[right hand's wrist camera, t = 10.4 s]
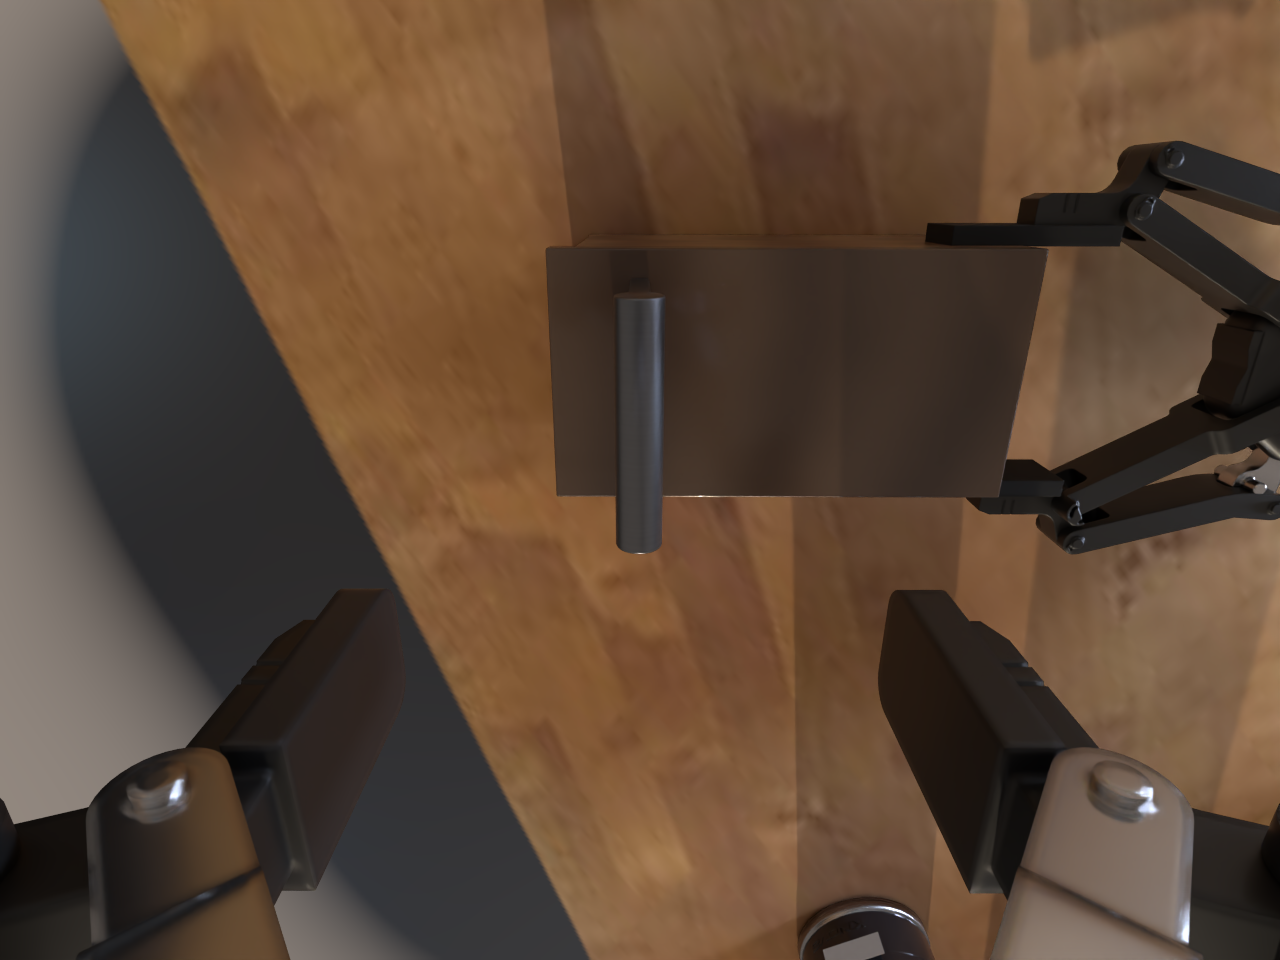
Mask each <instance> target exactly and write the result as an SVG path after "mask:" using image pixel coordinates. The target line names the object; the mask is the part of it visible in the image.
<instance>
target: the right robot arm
mask: <svg viewBox="0 0 1280 960" xmlns="http://www.w3.org/2000/svg"><path fill="white" fill-rule="evenodd" d="M878 687H879V695H880V700H881V704H882V708H883V710H884V713H885V715H886V717H887V719H888V721H889V723H890V726H891V728H892V730H893V732H894V734H895V736H896V738H897V740H898V743H899V745H900V747H901V749H902V751H903V753H904V755H905V757H906V759H907V762H908V764H909V766H910V768H911V770H912V772H913V774H914V776H915V778H916V781H917V783H918V785H919V787H920V789H921V791H922V793H923V795H924V797H925V800H926V802H927V804H928V806H929V808H930V810H931V812H932V814H933V816H934V819H935V821H936V823H937V825H938V827H939V829H940V831H941V833H942V835H943V838H944V840H945V842H946V844H947V846H948V848H949V850H950V852H951V854H952V857H953V859H954V861H955V863H956V865H957V867H958V869H959V871H960V873H961V876H962V878H963V880H964V882H965V884H966V886H967V888H968V890H969V892H970V893H1004V895H1005V897H1006V899H1007V901H1008V902H1007V905H1006V908H1005V911H1004V915H1003V918H1002V921H1001V924H1000V928H999V931H998V934H997V938H996V941H995V944H994V947H993V951H992V954H991V957H990V960H1280V804H1279V805H1278V807H1277V810H1276V812H1275V814H1274V817H1273V819H1272V821H1271V824H1270V826H1266V825H1261V824H1257V823H1253V822H1248V821H1244V820H1240V819H1235V818H1231V817H1227V816H1222V815H1218V814H1214V813H1209V812H1205V811H1201V810H1197V809H1193V808H1191V806H1190V804H1189V802H1188V801H1187V799H1186V798H1185V796H1184V795H1183V794H1182V793H1181V792H1180V790H1179V789H1178V788H1177V787H1176V786H1175V785H1173V784H1172V783H1171V782H1170V781H1169V780H1168V779H1166V778H1165V777H1164V776H1162V775H1161V774H1160V773H1158V772H1157V771H1155V770H1153V769H1152V768H1150V767H1149V766H1147V765H1145V764H1143V763H1141V762H1139V761H1137V760H1135V759H1132V758H1130V757H1127V756H1125V755H1122V754H1119V753H1116V752H1112V751H1108V750H1104V749H1099V747H1098V746H1097V745H1096V744H1095V743H1094V741H1093V740H1092V739H1091V738H1090V737H1089V735H1088V734H1087V733H1086V732H1085V731H1084V729H1083V728H1082V727H1081V726H1080V725H1079V723H1078V722H1077V721H1076V720H1075V719H1074V717H1073V716H1072V715H1071V714H1070V713H1069V711H1068V710H1067V709H1066V708H1065V707H1064V705H1063V704H1062V703H1061V702H1060V701H1059V699H1058V698H1057V697H1056V696H1055V695H1054V693H1053V692H1052V691H1051V690H1050V689H1049V687H1048V686H1044V681H1043V680H1042V679H1041V678H1040V677H1039V675H1038V674H1037V673H1036V672H1035V671H1034V669H1033V668H1032V667H1028V662H1027V661H1026V660H1025V659H1024V657H1023V656H1022V655H1021V654H1020V653H1019V651H1018V650H1017V649H1016V648H1015V647H1014V645H1013V644H1012V643H1011V642H1010V641H1009V640H1008V639H1006V638H1005V637H1003V636H1002V635H1000V634H999V633H997V632H996V631H994V630H993V629H991V628H990V627H988V626H987V625H985V624H984V623H982V622H981V621H969V620H968V619H967V618H966V617H965V615H964V614H963V613H962V611H961V610H960V609H959V607H958V606H957V605H956V604H955V602H954V601H953V600H952V598H951V597H950V596H949V595H948V594H947V592H945V591H943V590H895V591H894V592H893V593H892V595H891V597H890V600H889V604H888V610H887V617H886V624H885V631H884V637H883V644H882V651H881V658H880V664H879V672H878ZM404 691H405V666H404V659H403V652H402V645H401V639H400V632H399V625H398V618H397V611H396V605H395V600H394V596H393V594H392V592H391V591H390V590H389V589H340V590H339V591H337V592H336V594H335V595H334V596H333V597H332V599H331V600H330V601H329V603H328V604H327V605H326V607H325V608H324V609H323V611H322V612H321V613H320V614H319V616H318V617H317V618H316V620H303V621H302V622H300V623H299V624H297V625H296V626H294V627H293V628H291V629H289V630H288V631H286V632H285V633H283V634H282V635H280V636H279V637H277V638H276V639H275V640H274V641H273V642H272V643H271V645H270V646H269V647H268V648H267V649H266V651H265V652H264V653H263V654H262V655H261V657H260V658H259V659H258V660H257V665H256V666H252V668H251V669H250V670H249V671H248V672H247V674H246V675H245V676H244V677H243V678H242V682H241V685H237V686H236V687H235V688H234V689H233V691H232V692H231V693H230V694H229V695H228V697H227V698H226V699H225V700H224V702H223V703H222V704H221V705H220V706H219V708H218V709H217V710H216V711H215V712H214V714H213V715H212V716H211V717H210V719H209V720H208V721H207V722H206V723H205V725H204V726H203V727H202V728H201V729H200V731H199V732H198V733H197V734H196V736H195V737H194V738H193V739H192V740H191V742H190V743H189V744H188V745H187V746H186V748H182V749H176V750H172V751H168V752H164V753H161V754H158V755H155V756H153V757H150V758H148V759H145V760H143V761H141V762H139V763H137V764H135V765H133V766H131V767H130V768H128V769H127V770H125V771H123V772H122V773H120V774H119V775H118V776H116V777H115V778H114V779H112V780H111V781H110V782H109V783H108V784H107V785H105V786H104V787H103V788H102V789H101V790H100V792H99V793H98V794H97V795H96V796H95V798H94V799H93V801H92V802H91V804H90V806H89V807H87V808H84V809H79V810H75V811H70V812H66V813H62V814H57V815H53V816H49V817H44V818H40V819H35V820H31V821H27V822H22V823H18V824H13V822H12V819H11V817H10V815H9V813H8V810H7V808H6V806H5V803H4V801H3V800H2V799H1V798H0V960H290V957H289V954H288V951H287V947H286V944H285V941H284V938H283V934H282V931H281V928H280V924H279V921H278V918H277V915H276V911H275V908H274V905H275V903H276V901H277V899H278V897H279V895H280V893H281V891H315V890H316V888H317V886H318V884H319V882H320V880H321V877H322V875H323V873H324V871H325V869H326V867H327V865H328V863H329V860H330V858H331V856H332V854H333V852H334V850H335V847H336V845H337V843H338V841H339V839H340V837H341V835H342V832H343V830H344V828H345V826H346V824H347V822H348V820H349V818H350V815H351V813H352V811H353V809H354V807H355V805H356V803H357V801H358V798H359V796H360V794H361V792H362V790H363V788H364V786H365V783H366V781H367V779H368V777H369V775H370V773H371V771H372V768H373V766H374V764H375V762H376V760H377V758H378V756H379V753H380V751H381V749H382V747H383V745H384V743H385V741H386V738H387V736H388V734H389V732H390V730H391V728H392V726H393V724H394V721H395V719H396V717H397V715H398V713H399V711H400V708H401V705H402V701H403V697H404ZM798 953H799V957H800V960H935V958H934V956H933V953H932V950H931V948H930V942H929V939H928V936H927V934H926V931H925V928H924V926H923V924H922V922H921V920H920V918H919V917H918V916H917V915H916V914H915V913H914V912H913V911H912V910H911V909H909V908H908V907H906V906H904V905H902V904H900V903H898V902H895V901H892V900H888V899H883V898H872V897H865V898H855V899H849V900H845V901H842V902H838V903H836V904H833V905H831V906H829V907H827V908H825V909H823V910H821V911H820V912H818V913H817V914H816V915H815V916H813V917H812V918H811V919H810V920H809V921H808V922H807V924H806V925H805V926H804V928H803V929H802V931H801V933H800V936H799V940H798Z"/></svg>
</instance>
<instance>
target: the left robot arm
mask: <svg viewBox="0 0 1280 960" xmlns="http://www.w3.org/2000/svg"><path fill="white" fill-rule="evenodd" d="M1117 167H1118V171H1119V172H1118V173H1117V175H1116V177H1115V179H1114V180H1113V182H1112V183H1111V184H1110V185H1109V186H1108V187H1107V188H1106V189H1104V190H1103V191H1100V192H1098V193H1034V194H1031V195H1029V196H1026V197H1024V198H1021V202H1020V208H1019V213H1018V218H1017V223H928V225H927V232H926V239H925V242H932V243H938V244H944V245H950V246H1120V243H1121V241H1122V242H1124V243H1125V244H1127V245H1128V246H1129V247H1131V248H1132V249H1134V250H1135V251H1137V252H1138V253H1140V254H1141V255H1143V256H1144V257H1145V258H1147V259H1148V260H1150V261H1151V262H1153V263H1154V264H1156V265H1157V266H1159V267H1160V268H1162V269H1163V270H1164V271H1166V272H1167V273H1169V274H1170V275H1172V276H1173V277H1175V278H1176V279H1178V280H1179V281H1180V282H1182V283H1183V284H1185V285H1186V286H1188V287H1189V288H1191V289H1192V290H1194V291H1195V292H1196V293H1198V294H1199V295H1201V296H1202V298H1201V299H1202V301H1204V302H1205V303H1206V304H1208V305H1209V306H1211V307H1212V308H1214V309H1215V310H1216V311H1218V312H1219V313H1221V314H1222V315H1224V316H1225V317H1227V318H1228V319H1227V320H1226V321H1225V323H1218V324H1217V327H1216V330H1215V334H1214V337H1213V340H1212V359H1211V361H1210V363H1209V365H1208V366H1207V368H1206V370H1205V372H1204V373H1203V375H1202V378H1201V381H1200V384H1199V388H1198V391H1197V393H1199V395H1197V396H1195V397H1193V398H1190V399H1188V400H1186V401H1184V402H1182V403H1180V404H1178V405H1176V406H1174V407H1172V408H1171V409H1170V410H1169V415H1168V416H1166V417H1164V418H1162V419H1160V420H1158V421H1155V422H1153V423H1151V424H1149V425H1147V426H1145V427H1143V428H1140V429H1138V430H1136V431H1134V432H1132V433H1130V434H1128V435H1126V436H1123V437H1121V438H1119V439H1117V440H1115V441H1113V442H1111V443H1108V444H1106V445H1104V446H1102V447H1100V448H1098V449H1096V450H1093V451H1091V452H1089V453H1087V454H1085V455H1083V456H1081V457H1079V458H1076V459H1074V460H1072V461H1070V462H1068V463H1066V464H1064V465H1061V466H1059V467H1057V468H1055V469H1053V470H1051V471H1049V470H1047V469H1046V468H1044V467H1043V466H1041V465H1040V464H1038V463H1037V462H1035V461H1034V460H1006V463H1005V468H1004V473H1003V478H1002V482H1001V487H1000V492H999V497H966V499H967V500H968V501H969V502H970V503H972V504H973V505H974V506H975V507H976V508H977V509H978V510H979V511H982V512H985V513H987V514H1039V515H1038V517H1037V519H1036V526H1037V528H1038V529H1039V530H1040V531H1042V532H1043V533H1044V534H1045V535H1046V536H1047V537H1049V538H1050V539H1051V540H1052V541H1053V542H1055V543H1056V544H1057V545H1058V546H1059V547H1061V548H1062V549H1063V550H1064V551H1066V552H1067V553H1069V554H1079V553H1084V552H1088V551H1092V550H1096V549H1101V548H1105V547H1109V546H1114V545H1118V544H1122V543H1126V542H1131V541H1135V540H1139V539H1144V538H1148V537H1152V536H1156V535H1161V534H1165V533H1169V532H1174V531H1178V530H1182V529H1187V528H1191V527H1195V526H1199V525H1204V524H1208V523H1212V522H1217V521H1221V520H1225V519H1229V518H1248V519H1262V520H1276V519H1278V518H1280V494H1279V493H1276V490H1277V488H1278V486H1279V484H1280V281H1278V280H1275V279H1273V278H1271V277H1269V276H1267V275H1266V274H1264V273H1263V272H1262V271H1260V270H1259V269H1257V268H1256V267H1255V266H1253V265H1252V264H1250V263H1249V262H1248V261H1246V260H1245V259H1243V258H1242V257H1240V256H1239V255H1238V254H1236V253H1235V252H1233V251H1232V250H1231V249H1229V248H1228V247H1226V246H1225V245H1224V244H1222V243H1221V242H1219V241H1218V240H1217V239H1215V238H1214V237H1212V236H1211V235H1209V234H1208V233H1207V232H1205V231H1204V230H1202V229H1201V228H1200V227H1198V226H1197V225H1195V224H1194V223H1193V222H1191V221H1190V220H1188V219H1187V218H1186V217H1184V216H1183V215H1181V214H1180V213H1179V212H1177V211H1176V210H1174V209H1173V208H1171V207H1170V206H1169V205H1167V204H1166V203H1164V202H1163V201H1162V200H1160V199H1159V197H1160V195H1161V193H1162V192H1163V190H1166V191H1169V192H1172V193H1175V194H1178V195H1181V196H1184V197H1187V198H1190V199H1193V200H1196V201H1199V202H1203V203H1206V204H1209V205H1212V206H1215V207H1218V208H1221V209H1224V210H1227V211H1230V212H1233V213H1236V214H1239V215H1242V216H1245V217H1248V218H1252V219H1255V220H1258V221H1261V222H1264V223H1268V224H1272V225H1280V174H1278V173H1275V172H1272V171H1269V170H1266V169H1264V168H1261V167H1258V166H1255V165H1252V164H1249V163H1246V162H1243V161H1240V160H1237V159H1234V158H1231V157H1228V156H1225V155H1222V154H1219V153H1216V152H1213V151H1210V150H1207V149H1204V148H1201V147H1198V146H1195V145H1192V144H1189V143H1186V142H1183V141H1171V142H1161V143H1151V144H1142V145H1134V146H1131V147H1128V148H1127V149H1126V150H1124V151H1123V152H1122V154H1121V155H1120V157H1119V159H1118V163H1117ZM1247 447H1249V448H1250V449H1252V450H1253V452H1252V453H1251V455H1250V456H1249V457H1248V459H1246V460H1245V461H1243V462H1241V463H1238V464H1232V465H1229V466H1225V465H1219V466H1217V467H1216V468H1215V470H1214V474H1196V475H1190V476H1185V477H1181V478H1177V479H1172V480H1168V481H1164V482H1160V483H1156V484H1152V485H1148V484H1150V483H1152V482H1154V481H1156V480H1159V479H1161V478H1163V477H1165V476H1167V475H1170V474H1172V473H1174V472H1176V471H1179V470H1181V469H1183V468H1185V467H1187V466H1190V465H1192V464H1194V463H1196V462H1198V461H1201V460H1203V459H1205V458H1207V457H1209V456H1212V455H1216V454H1232V453H1235V452H1238V451H1240V450H1242V449H1245V448H1247ZM1145 485H1147V486H1145Z"/></svg>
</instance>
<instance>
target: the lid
mask: <svg viewBox="0 0 1280 960" xmlns="http://www.w3.org/2000/svg"><path fill="white" fill-rule="evenodd" d="M1047 256H1048V249H1044V248H1036V247H579V246H550V247H548V248H546V268H547V290H548V312H549V335H550V357H551V379H552V401H553V424H554V446H555V468H556V490H557V496H616V544H617V546H618V548H619V549H621V550H622V551H625V552H628V553H633V554H646V553H651V552H654V551H656V550H657V549H659V548H660V546H661V544H662V498H663V497H999V492H1000V487H1001V482H1002V478H1003V473H1004V468H1005V463H1006V458H1007V453H1008V448H1009V443H1010V438H1011V433H1012V428H1013V423H1014V419H1015V414H1016V409H1017V404H1018V399H1019V394H1020V389H1021V384H1022V379H1023V374H1024V369H1025V364H1026V360H1027V355H1028V350H1029V345H1030V340H1031V335H1032V330H1033V325H1034V320H1035V315H1036V310H1037V305H1038V301H1039V296H1040V291H1041V286H1042V281H1043V276H1044V271H1045V266H1046V261H1047Z"/></svg>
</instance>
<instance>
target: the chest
mask: <svg viewBox="0 0 1280 960" xmlns="http://www.w3.org/2000/svg"><path fill="white" fill-rule="evenodd" d="M925 239H926V235H589V237H587V238H586V239H585V240H583V241H582V242H581V243H580V244H578V245H577V246H579V247H1028V246H950V245H944V244H938V243H932V242H925Z"/></svg>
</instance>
